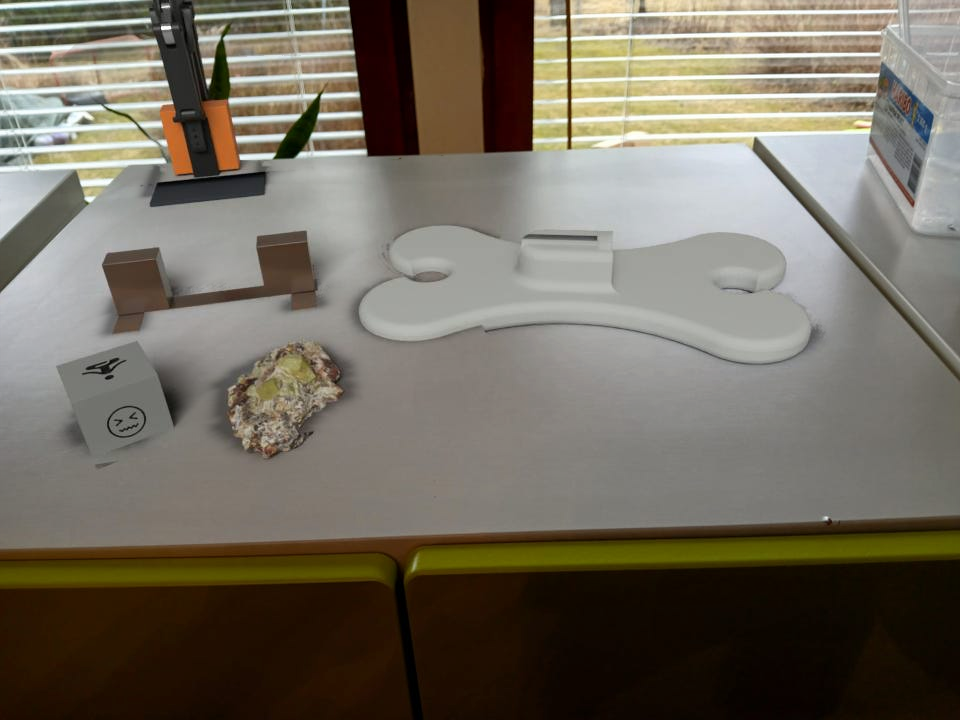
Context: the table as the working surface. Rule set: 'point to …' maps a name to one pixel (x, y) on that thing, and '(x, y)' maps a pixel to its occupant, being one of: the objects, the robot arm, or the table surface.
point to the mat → (208, 189)
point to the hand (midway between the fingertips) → (208, 171)
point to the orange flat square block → (219, 130)
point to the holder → (593, 289)
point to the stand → (147, 289)
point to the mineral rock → (282, 397)
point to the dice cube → (115, 398)
